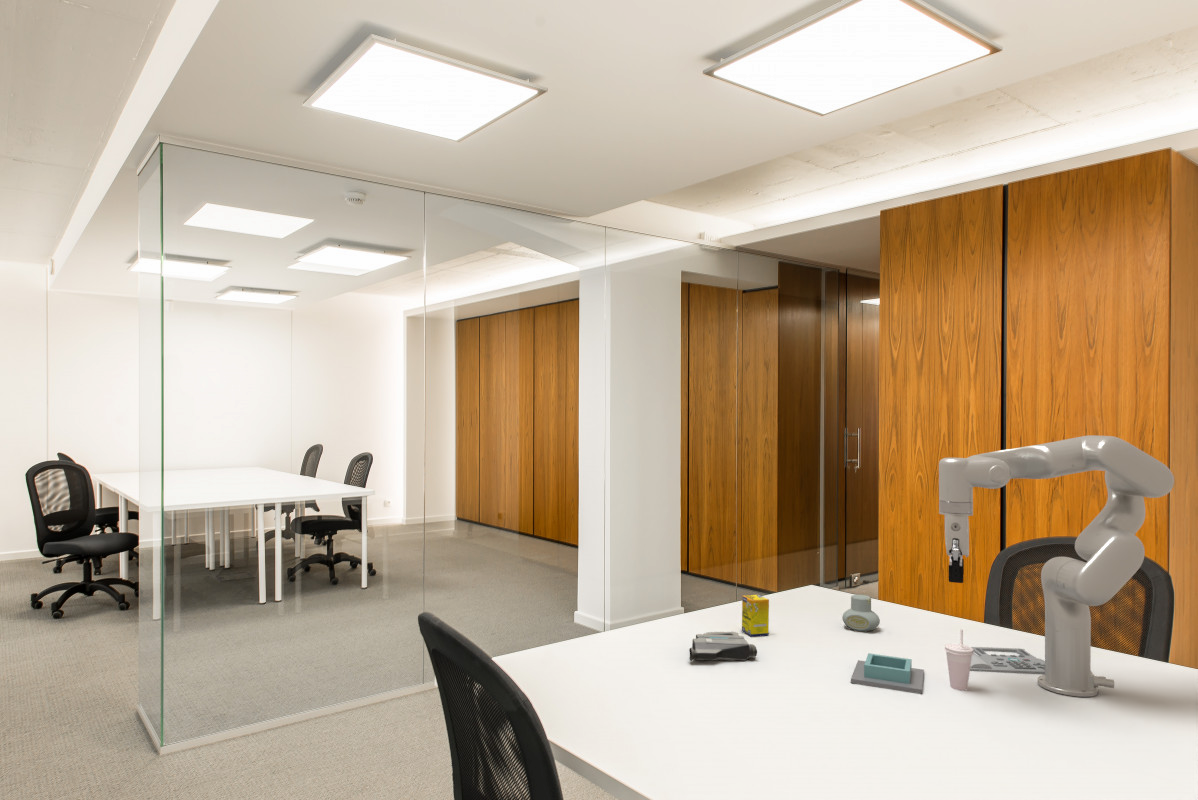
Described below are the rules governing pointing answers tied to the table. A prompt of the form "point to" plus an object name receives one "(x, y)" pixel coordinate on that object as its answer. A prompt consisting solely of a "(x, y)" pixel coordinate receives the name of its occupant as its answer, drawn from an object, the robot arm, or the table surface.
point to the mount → (888, 673)
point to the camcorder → (721, 647)
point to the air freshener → (861, 614)
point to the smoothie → (959, 663)
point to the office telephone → (1006, 661)
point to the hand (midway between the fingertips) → (956, 578)
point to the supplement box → (755, 615)
